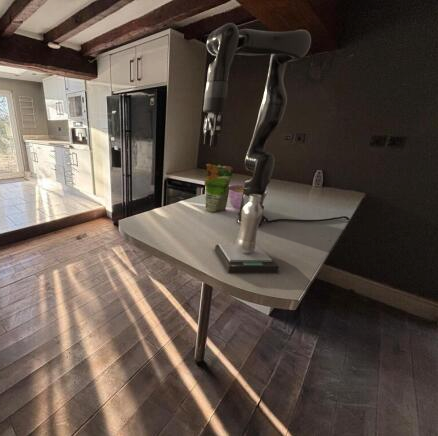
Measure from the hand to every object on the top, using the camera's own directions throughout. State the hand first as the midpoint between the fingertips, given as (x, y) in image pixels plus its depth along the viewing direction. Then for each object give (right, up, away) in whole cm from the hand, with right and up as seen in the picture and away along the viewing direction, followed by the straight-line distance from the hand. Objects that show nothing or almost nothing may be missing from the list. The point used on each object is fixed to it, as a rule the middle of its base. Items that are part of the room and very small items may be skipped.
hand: (209, 145), depth 87 cm
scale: (+10, -42, -7) cm, 44 cm away
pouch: (+13, -23, +40) cm, 48 cm away
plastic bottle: (+10, -39, -7) cm, 41 cm away
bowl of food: (+30, -23, +42) cm, 56 cm away
